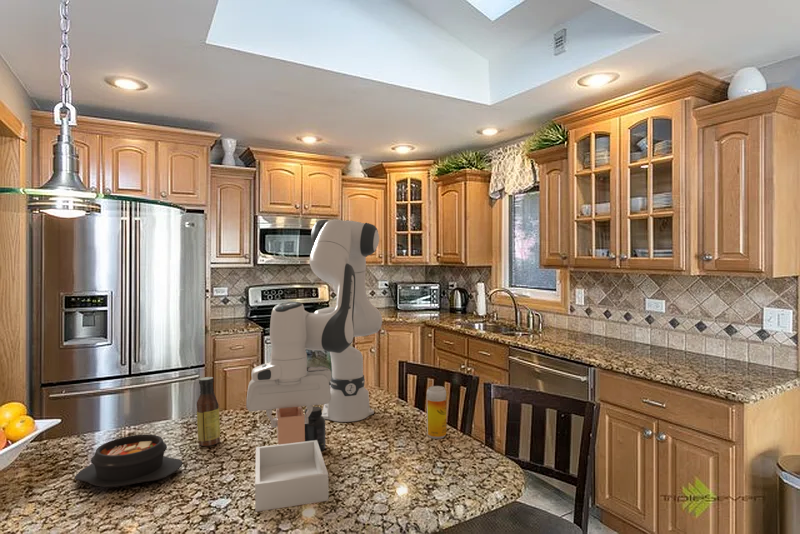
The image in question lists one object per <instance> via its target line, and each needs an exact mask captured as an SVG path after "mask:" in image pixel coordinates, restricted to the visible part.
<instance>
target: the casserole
mask: <svg viewBox="0 0 800 534" xmlns="http://www.w3.org/2000/svg"><path fill="white" fill-rule="evenodd" d="M167 449H168V445H167V444H166V443H165V442H164V439H163V438H162V437H161V436H160V435H155V434H136V435H129V436H124V437H120V438H116V439H112V440H109V441H107V442H105V443H102V444H101V445H99V446H98V447H97V448H96V449H95V452H94V454H93V456H92V457H91V458H90V463H91V464H90V465H87V466H86V467H84V468H83V469H81V470H80V471H78V472H77V474H76V475H75V476H74V479H75V480H76V481H80V482H83V483H88V484H90V485H93V486H95V487H101V488H102V487H103V488H113V487H114V488H115V487H117V488H118V487H126V486H131V485H132V486H133V485H135V484H139V483H147V482H153V481H154V482H155V481H159V480H162V479H165V478H167V477H169V476H170V475H172V474H174V473H176V472H177V471H178V470H180V469H181V468H182V466H183V461H182V460H181V459H179V458H173V457H168V456H165V451H166V450H167Z"/></svg>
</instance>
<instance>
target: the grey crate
mask: <svg viewBox="0 0 800 534" xmlns="http://www.w3.org/2000/svg"><path fill="white" fill-rule="evenodd" d="M254 474H255V475H254V477H255V479H254V488H255V489H254V501H255V502H254V504H255V506H254V507H255V509H254V510H255V511H254V512H263V511H268V510H269V511H270V510H275V509H281V508H282V509H283V508H289V507H295V506H300V505H308V504H314V503H320V502H321V503H322V502H328V501H329V499H330V497H329V472H328V470H327V467H326V463H325V460H324V458H323V454H322V452H321V451H320V448H319V444H318V441H317V440H314V441H305V442H296V443H288V444H280V445H278V444H272V445H263V446H256V447H255V473H254Z"/></svg>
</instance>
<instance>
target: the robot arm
mask: <svg viewBox="0 0 800 534" xmlns="http://www.w3.org/2000/svg"><path fill="white" fill-rule="evenodd" d="M310 235H311V236H310V238H311V244H312V249H311V252H310V255H309V266H310V269H311V271H312V273H314V275H315V276H316V277H318V279H320V280H321V281H323V282H325V283H327V284H330V285H332V288H333V291H334V293H335V294H336V299H335V301H336V302H335V306H330V307H329V306H328V307H324V308H321V309H317V310H315V311H314V312H309V311H307V310H305V307H304V304H303V303H302V302H299V301H287V302H281V303H278V304H276V305H275V306H274V307H273V308H272V310H271V316H270V322H269V323H270V324H269V341H270V344H271V345H270V346H271V353H270V355H269V356H270V357H269V358H270V359H269V362H265V363H262V364H260V365H258V366H255V367H253V368H252V370H251V379H250V381H249V383H248V387H247V392H246V394H247V395H246V407H245V408H246V410H248V412H259V411H265V413H266V414H265V415H266V417H267V418H268V419H269V420H270V427H271V428H276V427H277V418H276V417H273V415H272V414H273V410H276V409H281V408H291V407H306V408H307V412H306V414H305V413H304V416H305V424H308V417H309V416H310V414H311V412H312V410H313V407H314V406H321V405H323V408H322V415H321V416H322V417H323V418H324V419H325V420H330V421H333V422H340V423H346V422H347V423H349V422H357V421H361V420H364V419H366V418H368V417H369V416H371V415H373V414H374V413H375V409H372V408H371V407H370V393H369V390H368V389H367V388H366V387H365V385H366V384H365V382H366V381H365V375H364V356H363V354H362V352H361V351H360V350H359V349H358V348H356V347H354V346H352V343H353V341H354V338H358V337H367V336H371V335H373V334H374V335H375V334H377V333H379V331H380V330H381V328H382V325H383V316H382V313H381V312H380V310H379V309H378V308H377V307H376V306H374V305H373V303H372V302H371V301H370V299H369V298H368V295H367V291H366V273H367V272H366V270H367V258H366V257H368V256H371V255H373V253H376V251H377V248H378V246H379V243H380V236H379V235H380V234H379V230H378V228H377V227H376V225H375V224H372V223H368V222H360V221H356V220H349V219H348V220H344V219H343V220H342V219H335V218H334V219H331V220H329V219H320V220H318V221H316V222H315V223H314V224H313V225H312V229H311V233H310ZM307 350H308V351H321V352H322V351H323V352H324V351H325V352H329V354H330V361H331V362H330V364H331V370H330V368H328V367H326V366H324V365H322V366H308V353H307ZM306 408H305V409H306Z"/></svg>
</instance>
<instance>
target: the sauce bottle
mask: <svg viewBox="0 0 800 534" xmlns="http://www.w3.org/2000/svg"><path fill="white" fill-rule="evenodd" d="M214 382H215V381H214V377H213V376H206V377H201V378H199V379H198V384H199V396H198V399H197V401H196V421H197V424H196V425H197V439H198V444H199V446H202V447H210V446H215V445H217V444H218V443H220V441H221V438H220V437H221V426H220V425H221V424H220V410H219V409H220V408H219V407H220V406H219V403H218V400H217V398H216V395H215V392H214Z"/></svg>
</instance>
